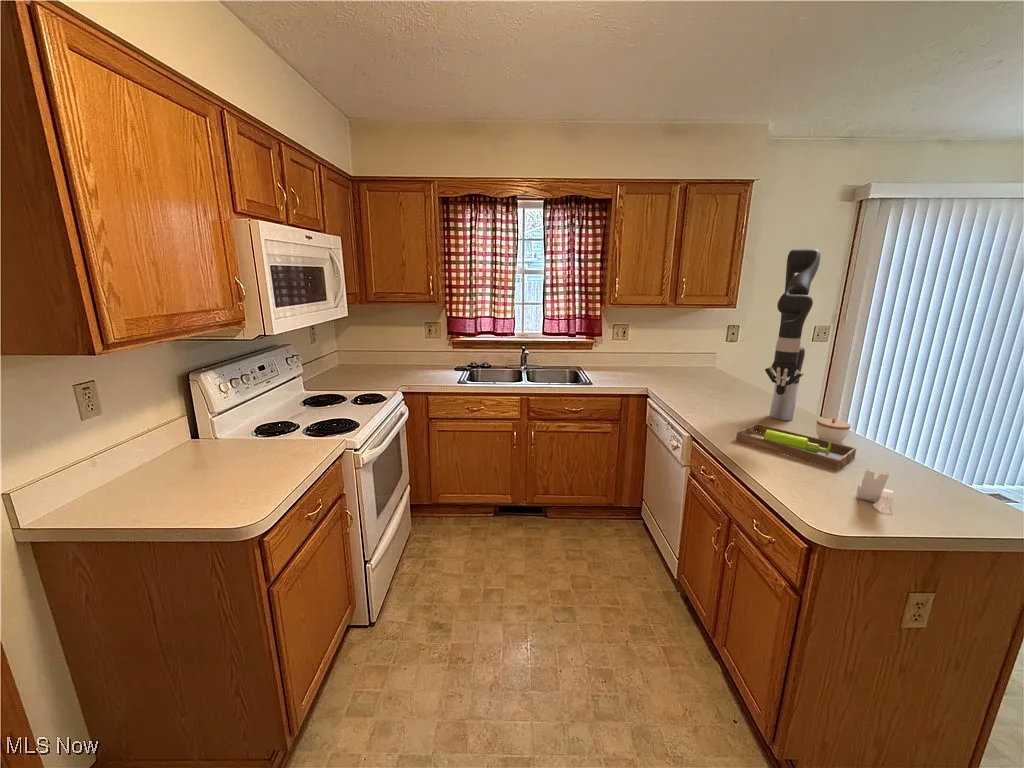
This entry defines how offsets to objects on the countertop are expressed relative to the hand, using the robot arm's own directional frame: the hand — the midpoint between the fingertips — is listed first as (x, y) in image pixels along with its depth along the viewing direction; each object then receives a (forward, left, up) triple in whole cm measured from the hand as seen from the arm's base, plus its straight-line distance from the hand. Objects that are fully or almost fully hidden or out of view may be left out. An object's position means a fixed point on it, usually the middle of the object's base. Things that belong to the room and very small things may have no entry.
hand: (780, 394), depth 167 cm
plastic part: (+29, +38, -20) cm, 52 cm away
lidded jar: (-20, +13, -20) cm, 31 cm away
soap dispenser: (+6, 0, -15) cm, 17 cm away
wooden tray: (+1, +7, -19) cm, 21 cm away
